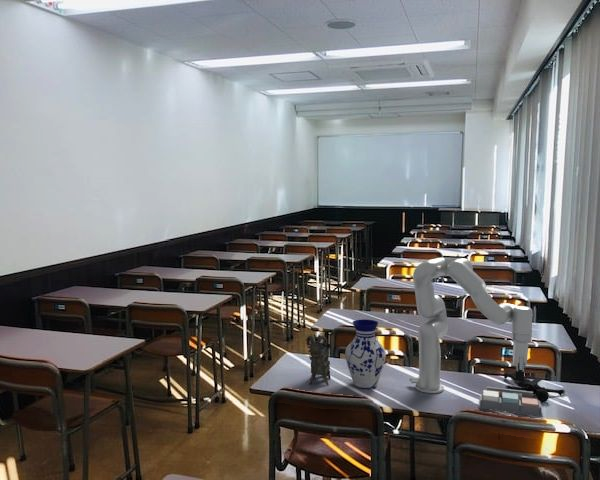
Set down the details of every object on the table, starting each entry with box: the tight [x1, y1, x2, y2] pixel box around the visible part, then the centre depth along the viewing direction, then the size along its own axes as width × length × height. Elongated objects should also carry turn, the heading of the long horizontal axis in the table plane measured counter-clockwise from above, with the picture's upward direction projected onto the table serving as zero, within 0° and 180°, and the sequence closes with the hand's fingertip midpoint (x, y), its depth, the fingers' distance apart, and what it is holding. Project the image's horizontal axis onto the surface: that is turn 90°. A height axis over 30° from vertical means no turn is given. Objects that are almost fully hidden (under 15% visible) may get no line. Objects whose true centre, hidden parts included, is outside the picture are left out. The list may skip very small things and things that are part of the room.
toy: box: [503, 372, 566, 403], centre depth 231 cm, size 29×7×30 cm
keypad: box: [478, 386, 544, 417], centre depth 213 cm, size 24×11×6 cm, turn 69°
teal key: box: [502, 392, 518, 404], centre depth 212 cm, size 6×6×3 cm
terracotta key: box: [521, 397, 538, 407], centre depth 209 cm, size 6×6×3 cm
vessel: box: [305, 333, 332, 386], centre depth 244 cm, size 11×25×24 cm, turn 170°
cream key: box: [482, 389, 499, 402], centre depth 215 cm, size 6×6×3 cm
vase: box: [344, 319, 387, 390], centre depth 239 cm, size 19×19×30 cm
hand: (519, 380), depth 210 cm, fingers closed
